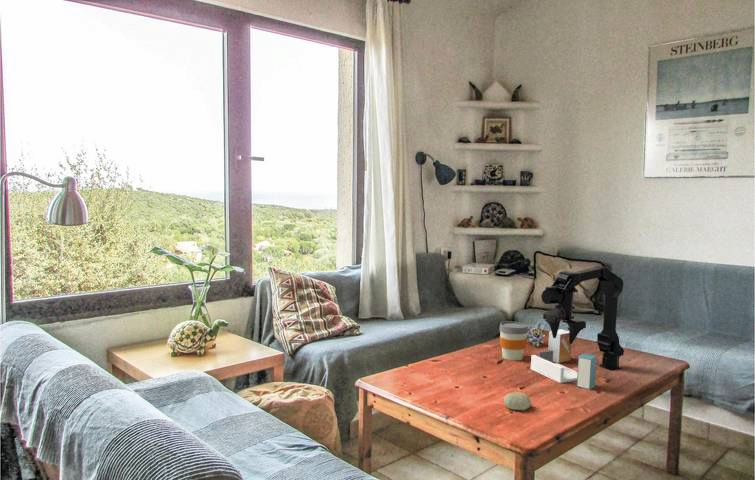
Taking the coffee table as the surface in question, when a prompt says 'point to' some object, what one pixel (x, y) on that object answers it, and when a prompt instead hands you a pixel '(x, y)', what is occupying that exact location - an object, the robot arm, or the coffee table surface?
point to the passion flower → (534, 335)
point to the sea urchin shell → (517, 401)
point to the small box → (560, 346)
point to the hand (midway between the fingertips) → (562, 340)
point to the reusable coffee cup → (513, 339)
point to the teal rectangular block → (586, 371)
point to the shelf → (552, 367)
